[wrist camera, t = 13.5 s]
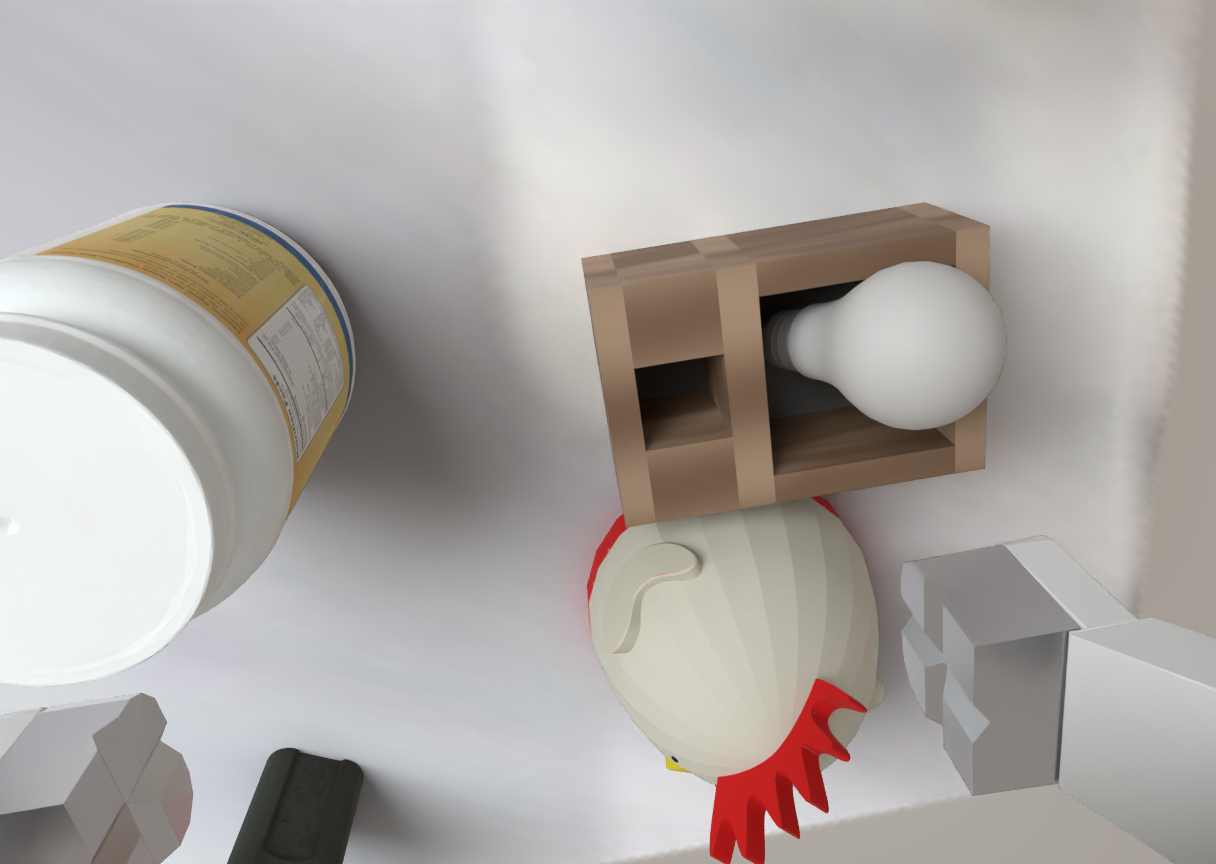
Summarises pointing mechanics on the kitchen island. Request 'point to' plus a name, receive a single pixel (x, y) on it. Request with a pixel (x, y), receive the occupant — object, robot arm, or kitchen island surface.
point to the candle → (299, 811)
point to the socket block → (758, 365)
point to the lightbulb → (899, 344)
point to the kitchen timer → (741, 653)
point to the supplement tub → (153, 427)
